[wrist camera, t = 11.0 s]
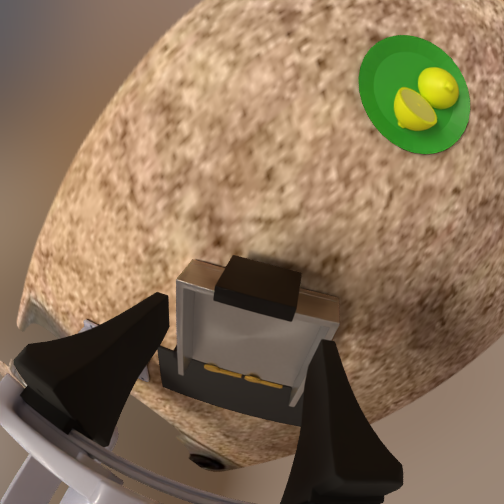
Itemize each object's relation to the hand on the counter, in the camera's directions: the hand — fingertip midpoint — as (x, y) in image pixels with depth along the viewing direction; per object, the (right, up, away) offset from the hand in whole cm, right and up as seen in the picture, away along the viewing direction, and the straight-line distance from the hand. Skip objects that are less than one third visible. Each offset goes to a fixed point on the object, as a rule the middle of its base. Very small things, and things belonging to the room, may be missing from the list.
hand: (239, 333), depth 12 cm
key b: (+2, -10, +15) cm, 18 cm away
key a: (-2, -9, +16) cm, 18 cm away
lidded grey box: (+1, -3, +12) cm, 12 cm away
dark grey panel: (-1, -13, +18) cm, 23 cm away
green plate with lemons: (+11, +14, +1) cm, 18 cm away
